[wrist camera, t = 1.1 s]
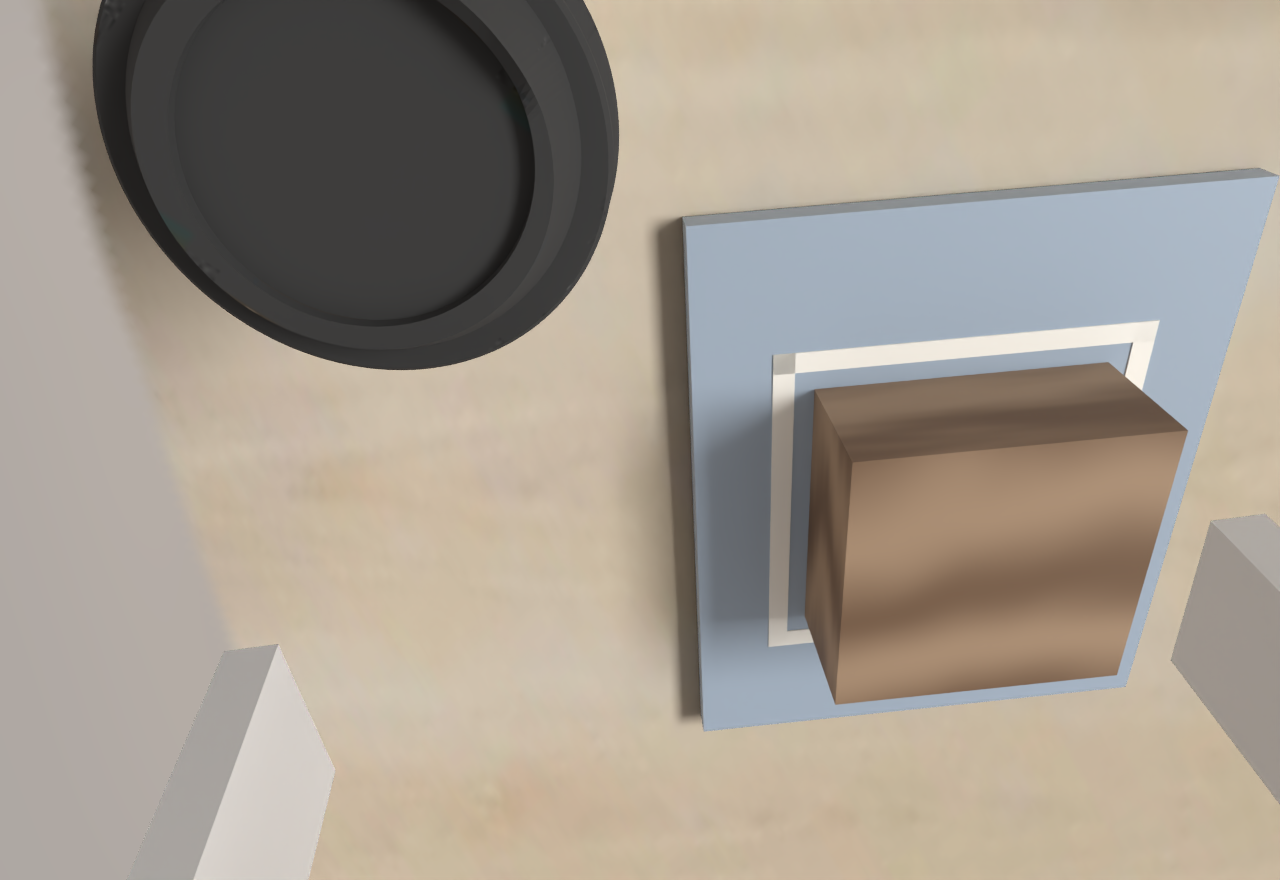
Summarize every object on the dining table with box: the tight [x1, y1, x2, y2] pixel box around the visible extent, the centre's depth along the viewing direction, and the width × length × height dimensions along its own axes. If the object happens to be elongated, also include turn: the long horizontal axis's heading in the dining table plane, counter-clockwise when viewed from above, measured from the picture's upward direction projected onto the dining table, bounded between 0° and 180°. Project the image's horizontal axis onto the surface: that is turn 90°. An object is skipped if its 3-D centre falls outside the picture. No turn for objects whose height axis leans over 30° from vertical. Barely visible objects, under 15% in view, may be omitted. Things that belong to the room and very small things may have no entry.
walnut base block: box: [805, 362, 1188, 705], centre depth 34 cm, size 11×11×5 cm
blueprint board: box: [682, 168, 1279, 731], centre depth 37 cm, size 24×20×1 cm
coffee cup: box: [93, 0, 619, 370], centre depth 21 cm, size 9×9×15 cm
